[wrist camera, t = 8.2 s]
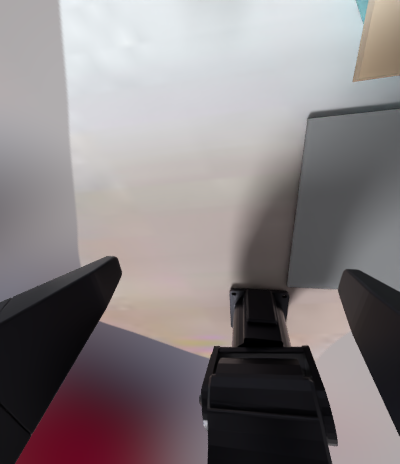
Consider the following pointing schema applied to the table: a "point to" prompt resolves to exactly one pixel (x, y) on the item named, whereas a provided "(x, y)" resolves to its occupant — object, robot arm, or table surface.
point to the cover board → (379, 41)
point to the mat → (348, 201)
